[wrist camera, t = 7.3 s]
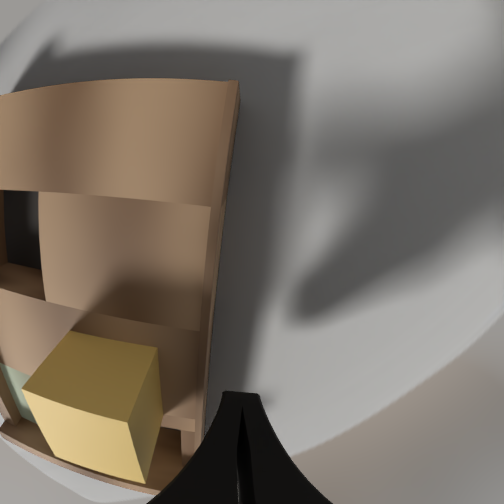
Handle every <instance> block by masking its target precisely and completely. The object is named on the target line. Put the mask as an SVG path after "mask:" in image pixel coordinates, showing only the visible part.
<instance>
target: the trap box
mask: <svg viewBox="0 0 504 504" xmlns="http://www.w3.org/2000/svg"><path fill="white" fill-rule="evenodd" d="M239 107H240V91H239V81H236V80H228V82H223V81H211V80H196V79H171V78H134V79H110V80H96V81H85V82H75V83H67V84H59V85H52V86H45V87H39V88H34V89H28V90H23V91H18V92H13V93H9V94H4V95H0V413H1V415H2V416H3V418H4V420H5V421H4V423H3V424H2V426H1V427H0V434H1V436H2V437H3V438H4V439H6V440H8V441H9V442H11V443H13V444H15V445H17V446H19V447H21V448H22V449H24V450H26V451H28V452H30V453H32V454H35V455H37V456H39V457H41V458H43V459H45V460H48V461H50V462H52V463H54V464H57V465H59V466H62V467H64V468H66V469H69V470H72V471H74V472H77V473H79V474H82V475H85V476H88V477H91V478H94V479H97V480H100V481H103V482H106V483H109V484H113V485H116V486H120V487H123V488H127V489H131V490H135V491H139V492H143V493H147V494H152V495H157V494H159V493H160V492H161V491H162V490H163V489H164V488H165V487H166V486H167V485H168V484H169V483H170V482H171V481H172V480H173V479H174V478H175V477H176V476H177V474H178V473H179V472H180V471H181V470H182V469H183V467H184V466H185V465H186V464H187V462H188V461H189V460H190V458H191V457H192V456H193V454H194V453H195V452H196V450H197V449H198V447H199V446H200V444H201V442H202V441H203V439H204V430H205V415H206V401H207V388H208V375H209V363H210V351H211V340H212V329H213V318H214V308H215V298H216V288H217V279H218V269H219V260H220V251H221V242H222V234H223V225H224V217H225V209H226V201H227V193H228V185H229V177H230V170H231V163H232V155H233V148H234V141H235V134H236V127H237V120H238V113H239ZM69 331H74V332H78V333H83V334H87V335H92V336H96V337H101V338H106V339H111V340H116V341H122V342H127V343H133V344H139V345H145V346H151V347H157V348H158V362H159V375H160V386H161V397H162V406H163V419H162V422H161V426H160V430H159V433H158V437H157V441H156V445H155V448H154V452H153V456H152V460H151V464H150V468H149V472H148V476H147V480H146V484H144V483H139V482H135V481H131V480H127V479H123V478H119V477H116V476H112V475H108V474H105V473H102V472H98V471H95V470H92V469H89V468H86V467H83V466H80V465H77V464H75V463H72V462H69V461H66V460H64V459H61V458H59V457H56V456H55V455H54V453H53V451H52V450H51V448H50V446H49V444H48V443H47V441H46V439H45V437H44V435H43V433H42V431H41V430H40V428H39V426H38V424H37V422H36V420H35V418H34V416H33V414H32V412H31V409H30V407H29V405H28V403H27V401H26V399H25V396H24V394H23V392H22V389H21V388H22V387H23V386H24V384H25V383H26V382H27V381H28V379H29V378H30V377H31V376H32V374H33V373H34V372H35V371H36V369H37V368H38V367H39V366H40V365H41V363H42V362H43V361H44V360H45V359H46V357H47V356H48V355H49V354H50V353H51V351H52V350H53V349H54V348H55V347H56V346H57V344H58V343H59V342H60V341H61V340H62V339H63V338H64V336H65V335H66V334H67V333H68V332H69Z"/></svg>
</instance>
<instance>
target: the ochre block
mask: <svg viewBox="0 0 504 504" xmlns="http://www.w3.org/2000/svg"><path fill="white" fill-rule="evenodd" d="M21 389H22V392H23V394H24V396H25V399H26V401H27V403H28V405H29V407H30V409H31V412H32V414H33V416H34V418H35V420H36V422H37V424H38V426H39V428H40V430H41V431H42V433H43V435H44V437H45V439H46V441H47V443H48V444H49V446H50V448H51V450H52V451H53V453H54V455H55V456H56V457H59V458H61V459H64V460H66V461H69V462H72V463H75V464H77V465H80V466H83V467H86V468H89V469H92V470H95V471H98V472H102V473H105V474H108V475H112V476H116V477H119V478H123V479H127V480H131V481H135V482H139V483H144V484H146V480H147V476H148V472H149V468H150V464H151V460H152V456H153V452H154V448H155V445H156V441H157V437H158V433H159V430H160V426H161V422H162V419H163V406H162V397H161V386H160V375H159V362H158V348H157V347H151V346H145V345H139V344H133V343H127V342H122V341H116V340H111V339H106V338H101V337H96V336H92V335H87V334H83V333H78V332H74V331H69V332H68V333H67V334H66V335H65V336H64V338H63V339H62V340H61V341H60V342H59V343H58V344H57V346H56V347H55V348H54V349H53V350H52V351H51V353H50V354H49V355H48V356H47V357H46V359H45V360H44V361H43V362H42V363H41V365H40V366H39V367H38V368H37V369H36V371H35V372H34V373H33V374H32V376H31V377H30V378H29V379H28V381H27V382H26V383H25V384H24V386H23V387H22V388H21Z"/></svg>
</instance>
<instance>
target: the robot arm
mask: <svg viewBox="0 0 504 504" xmlns="http://www.w3.org/2000/svg"><path fill="white" fill-rule="evenodd" d="M237 481H238V484H237ZM238 497H239V502H238ZM147 504H333V503H331V502H330V501H329V500H328V499H327V498H325V497H324V496H323V495H322V494H321V493H320V492H319V491H318V490H317V489H316V488H315V487H314V486H313V485H312V484H311V483H310V482H309V481H308V480H307V478H306V477H305V476H304V475H303V474H302V473H301V472H300V470H299V469H298V468H297V466H296V465H295V464H294V463H293V461H292V460H291V458H290V457H289V455H288V454H287V452H286V451H285V449H284V448H283V446H282V444H281V443H280V441H279V439H278V437H277V436H276V434H275V432H274V430H273V428H272V426H271V424H270V422H269V420H268V417H267V415H266V413H265V410H264V408H263V405H262V402H261V399H260V396H259V395H258V394H257V393H245V392H234V391H224V392H223V393H222V399H221V403H220V406H219V409H218V411H217V414H216V416H215V418H214V420H213V422H212V424H211V427H210V429H209V430H208V432H207V434H206V436H205V437H204V439H203V441H202V442H201V444H200V446H199V447H198V449H197V450H196V452H195V453H194V454H193V456H192V457H191V458H190V460H189V461H188V462H187V464H186V465H185V466H184V467H183V469H182V470H181V471H180V472H179V473H178V474H177V476H176V477H175V478H174V479H173V480H172V481H171V482H170V483H169V484H168V485H167V486H166V487H165V488H164V489H163V490H162V491H161V492H160V493H159V494H157V495H156V496H155V497H154V498H153V499H152V500H151V501H149V502H148V503H147Z"/></svg>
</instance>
